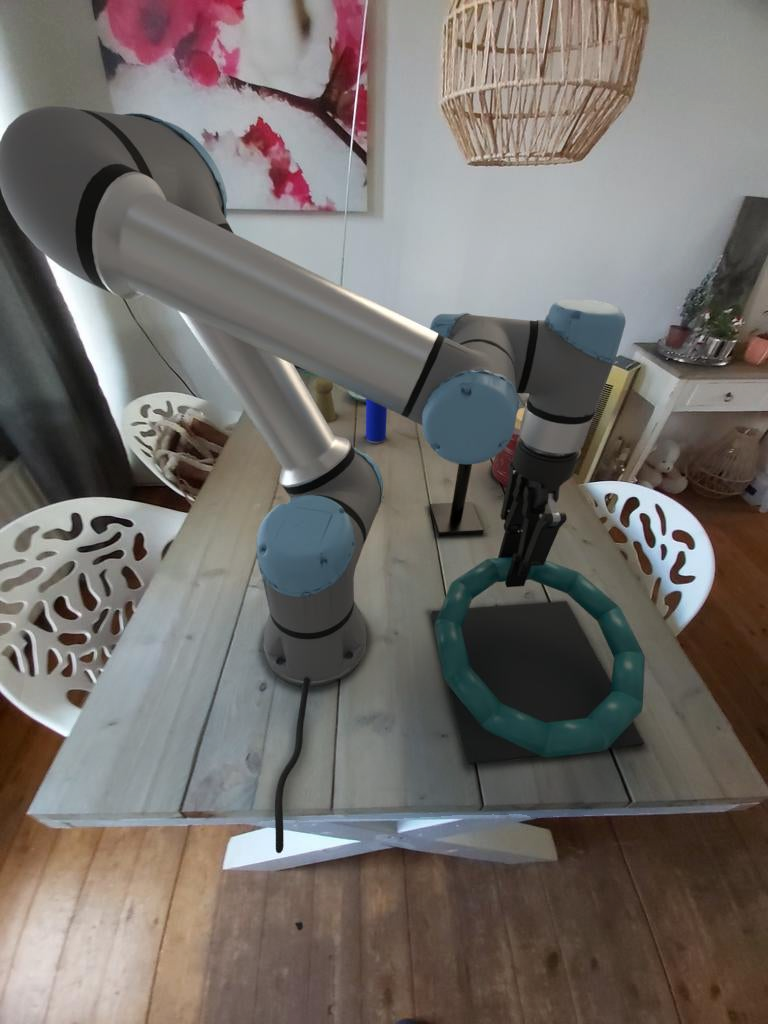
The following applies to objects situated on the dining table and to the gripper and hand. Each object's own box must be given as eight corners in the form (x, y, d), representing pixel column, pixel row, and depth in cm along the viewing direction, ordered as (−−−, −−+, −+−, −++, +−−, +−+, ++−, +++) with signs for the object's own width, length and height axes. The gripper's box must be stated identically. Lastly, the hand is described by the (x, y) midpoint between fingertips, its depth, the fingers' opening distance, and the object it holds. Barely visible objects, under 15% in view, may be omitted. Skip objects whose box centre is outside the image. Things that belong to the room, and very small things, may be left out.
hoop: (675, 745, 54) (692, 737, 51) (458, 770, 51) (464, 763, 48) (586, 560, 71) (595, 547, 68) (421, 571, 68) (423, 558, 66)
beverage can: (387, 435, 116) (390, 381, 106) (382, 445, 112) (384, 389, 102) (369, 432, 117) (369, 378, 107) (363, 442, 113) (363, 386, 103)
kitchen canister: (489, 458, 109) (503, 391, 98) (542, 463, 108) (563, 395, 97) (493, 489, 99) (510, 417, 88) (552, 494, 98) (576, 423, 87)
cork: (312, 413, 124) (309, 375, 118) (333, 411, 126) (331, 373, 119) (316, 423, 120) (313, 384, 113) (337, 420, 122) (336, 382, 115)
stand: (483, 534, 87) (499, 465, 77) (438, 536, 86) (448, 467, 76) (470, 506, 94) (484, 439, 83) (429, 508, 93) (437, 440, 82)
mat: (642, 745, 56) (644, 743, 56) (468, 764, 54) (468, 762, 53) (565, 603, 74) (566, 601, 74) (431, 613, 71) (431, 610, 71)
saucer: (372, 386, 140) (372, 379, 139) (394, 400, 133) (395, 393, 131) (340, 395, 134) (340, 388, 133) (362, 409, 127) (362, 402, 126)
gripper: (614, 479, 47) (555, 616, 62) (551, 410, 60) (514, 536, 75) (547, 482, 46) (503, 620, 61) (498, 411, 59) (471, 539, 74)
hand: (509, 574), depth 68 cm, fingers closed on hoop, 3 cm apart
